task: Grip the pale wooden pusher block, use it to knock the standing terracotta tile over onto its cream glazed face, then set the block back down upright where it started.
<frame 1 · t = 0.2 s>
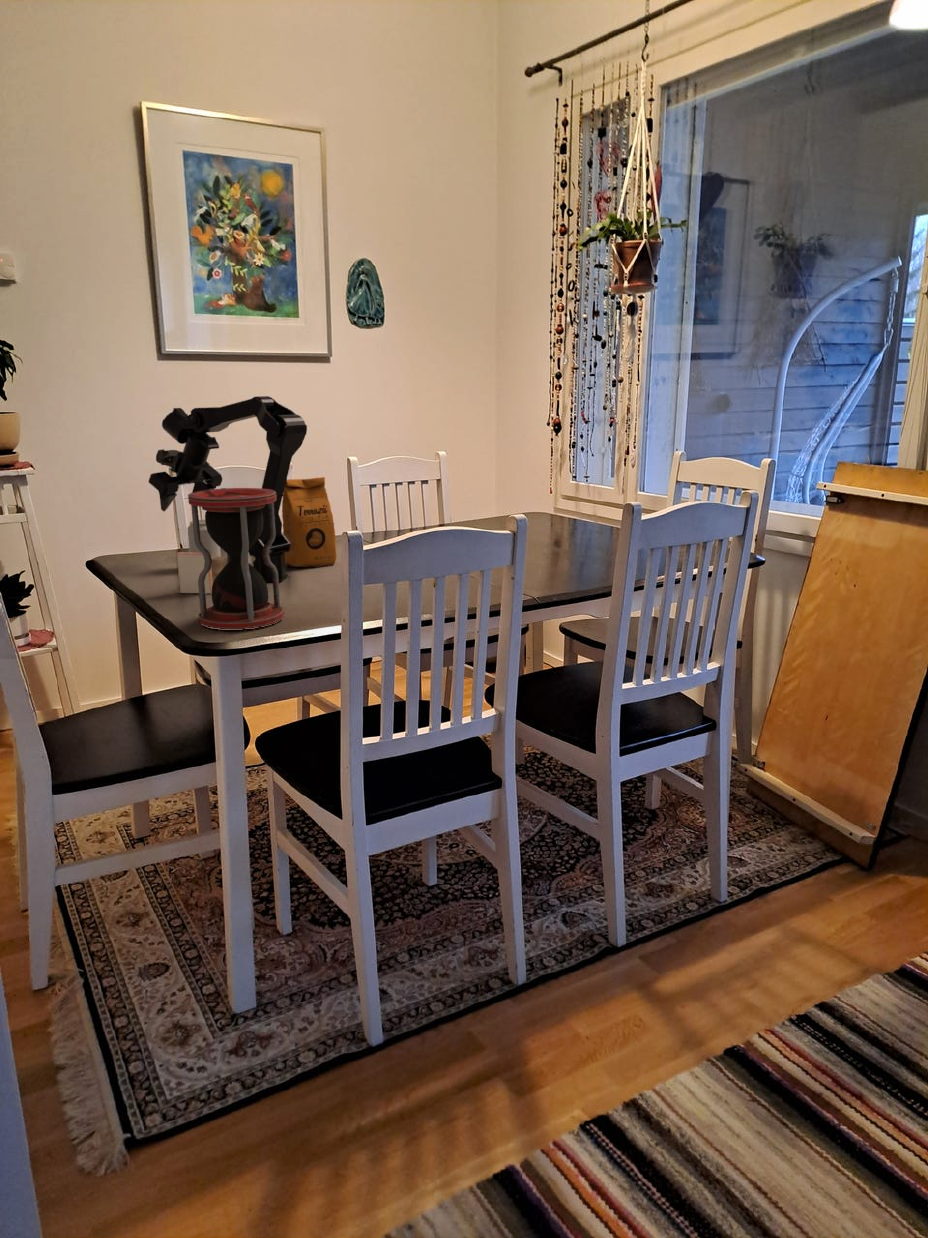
hand: (177, 507, 213), 15 cm above the table, tool tilted 30°, fingers open, 9 cm apart
coffee package: (310, 565, 217), on the table
hourglass: (242, 621, 168), on the table
pusher: (218, 583, 197), on the table
tile: (197, 593, 189), on the table
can: (206, 569, 214), on the table
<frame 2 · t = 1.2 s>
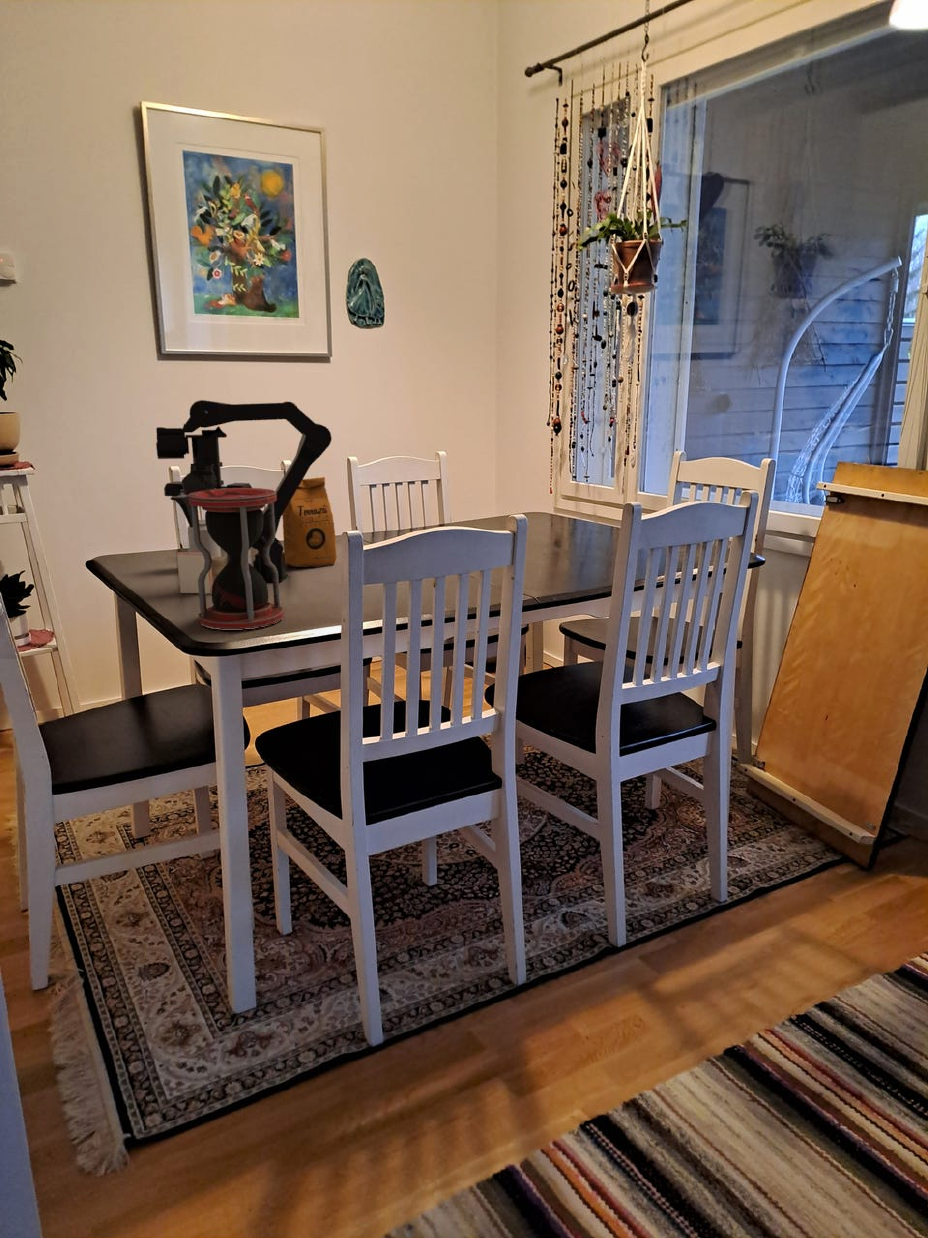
hand: (211, 527, 194), 13 cm above the table, tool pointing down, fingers open, 9 cm apart
nothing on the table moved.
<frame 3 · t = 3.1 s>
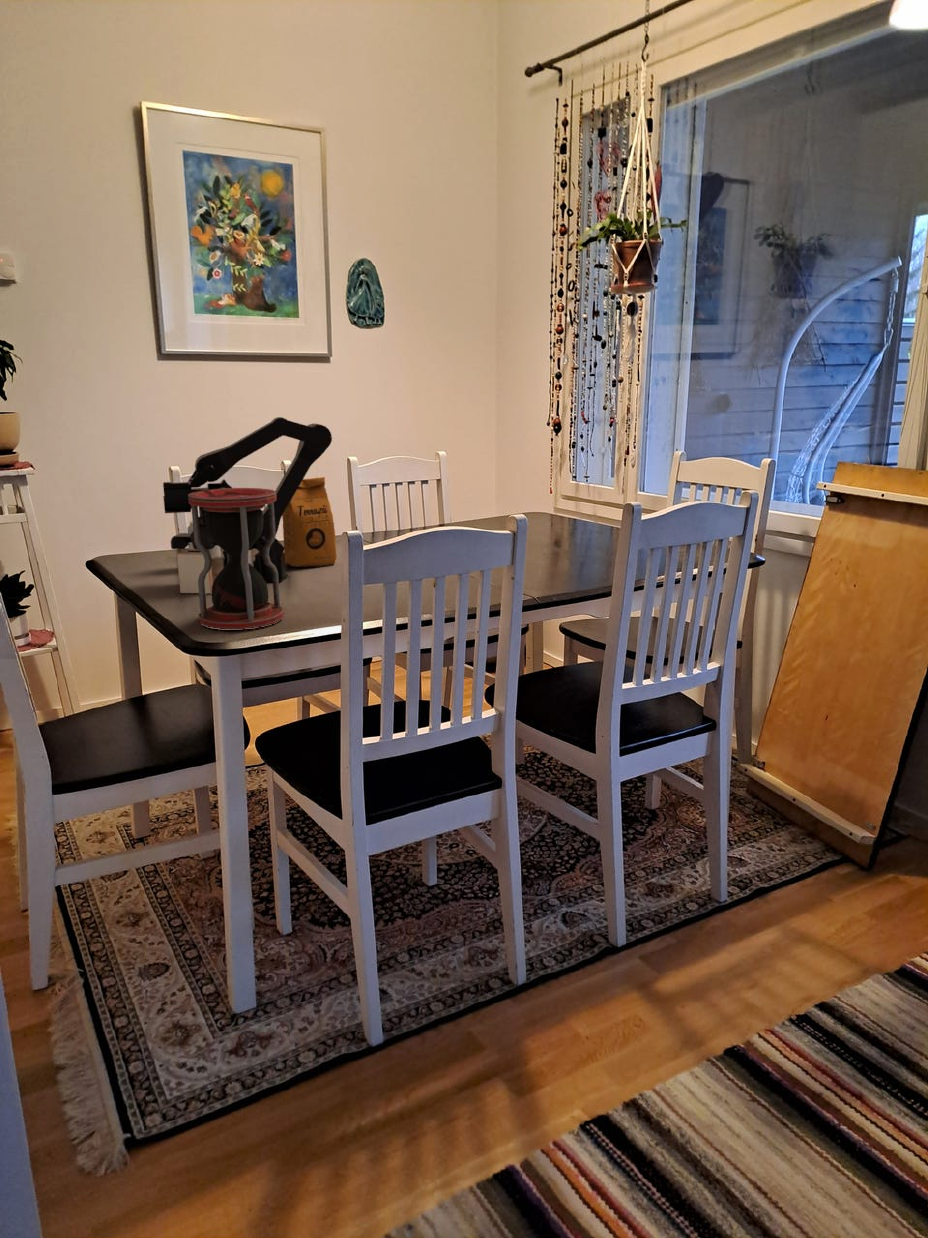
hand: (217, 578, 197), 1 cm above the table, tool pointing down, fingers closed on pusher, 4 cm apart
pusher: (218, 583, 197), on the table, touching gripper
everything else where it was.
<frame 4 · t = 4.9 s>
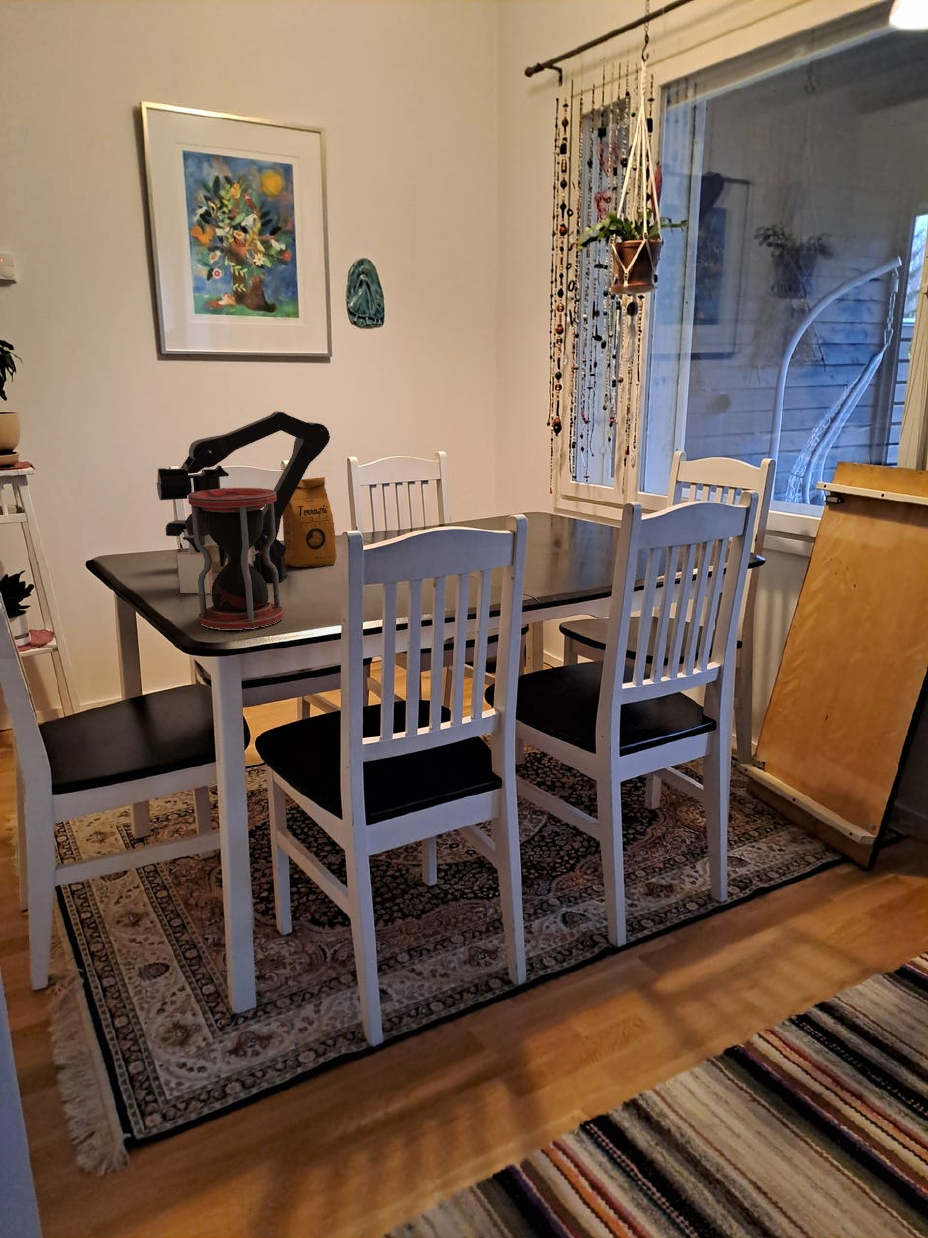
hand: (213, 566, 194), 5 cm above the table, tool pointing down, fingers closed on pusher, 4 cm apart
pusher: (213, 571, 195), point 3 cm above the table, touching gripper
everything else where it was.
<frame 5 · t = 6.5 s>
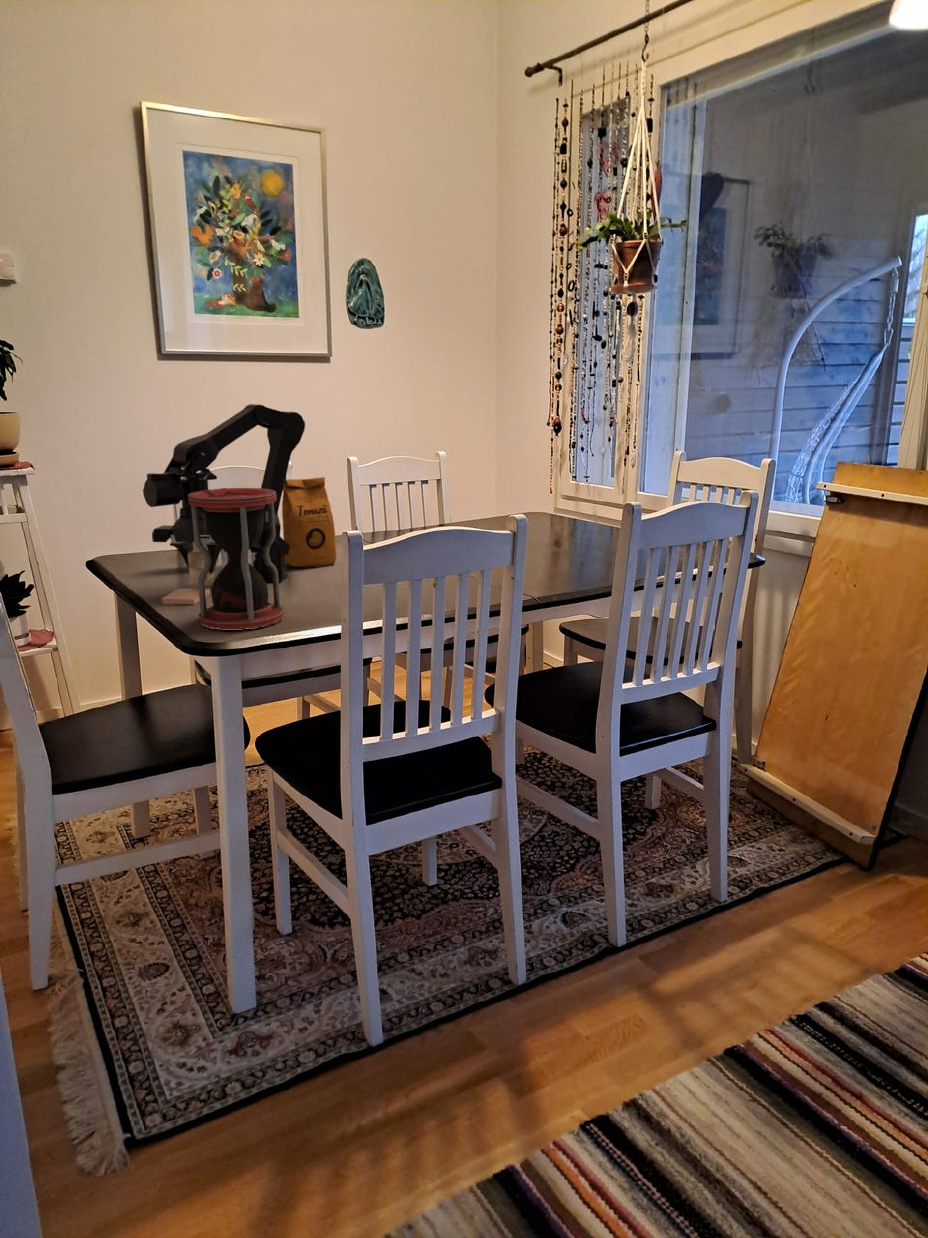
hand: (201, 573, 188), 4 cm above the table, tool pointing down, fingers closed on pusher, 4 cm apart
pusher: (202, 578, 188), point 3 cm above the table, touching gripper
tile: (194, 591, 188), on the table, tilted 90°
everything else where it was.
when the fingers open (2 cm above the table, at t = 8.9 s): pusher drops 1 cm, on the table.
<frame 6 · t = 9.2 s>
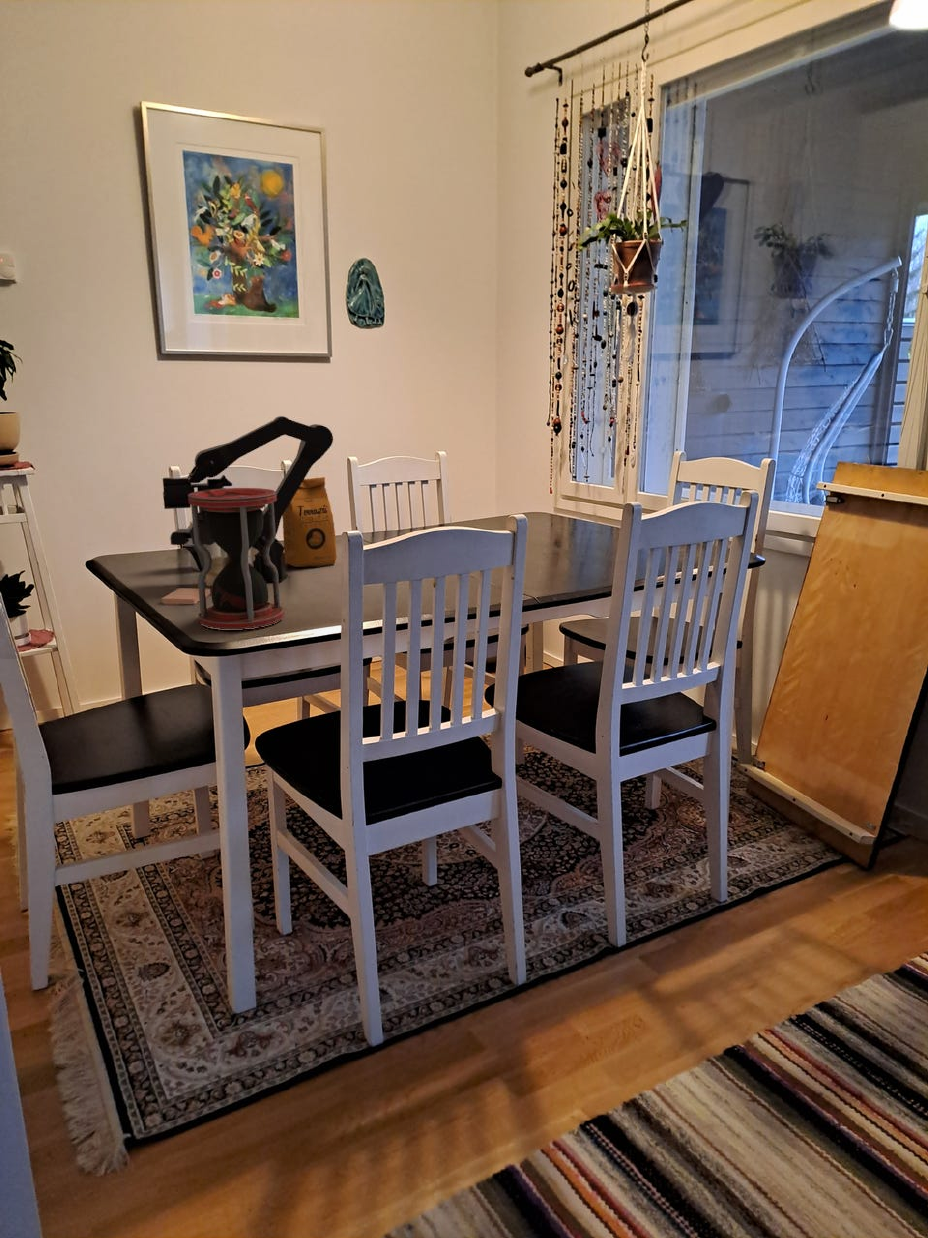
hand: (217, 574, 197), 2 cm above the table, tool pointing down, fingers open, 7 cm apart
pusher: (218, 583, 197), on the table
everything else where it was.
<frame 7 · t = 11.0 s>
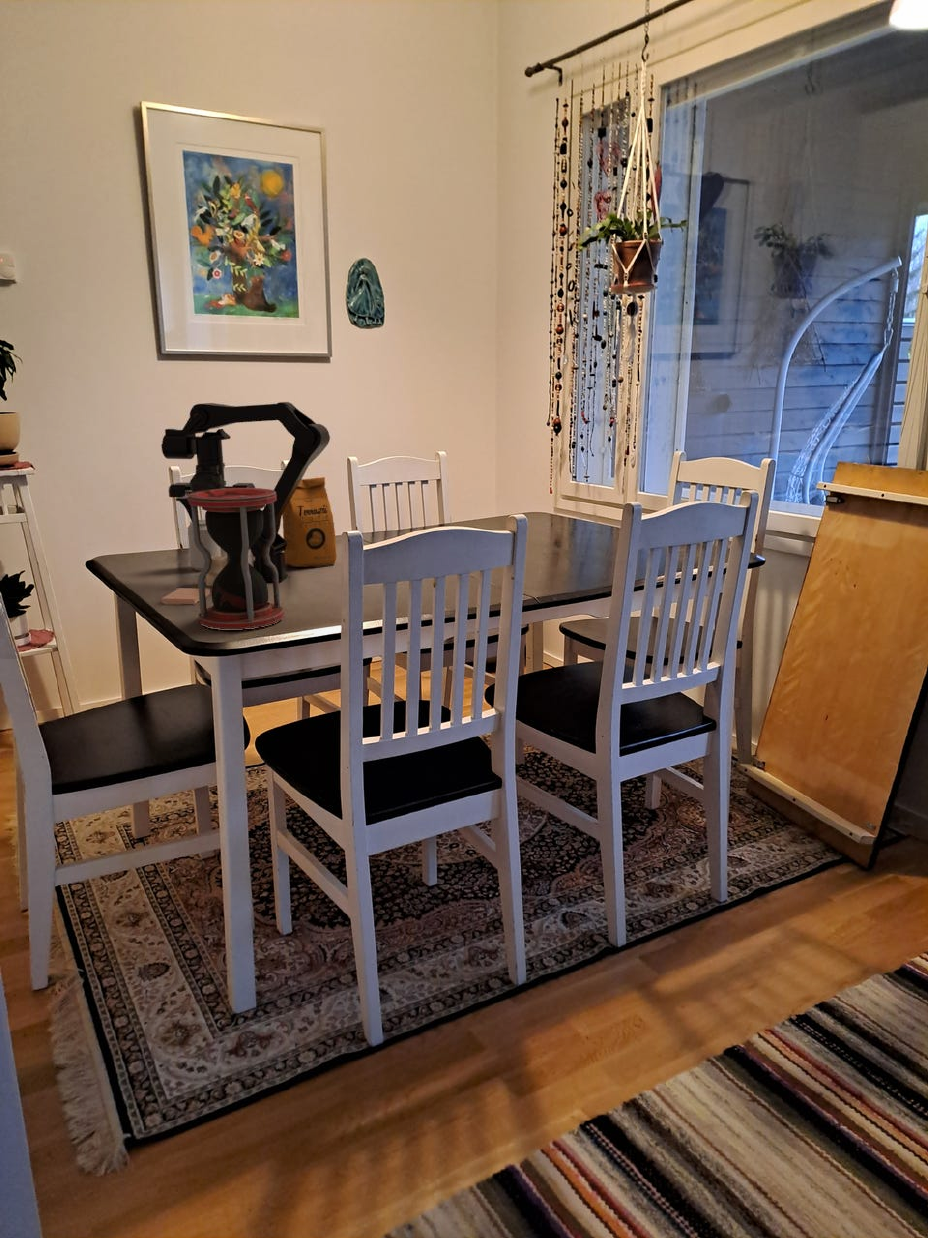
hand: (215, 527, 200), 12 cm above the table, tool pointing down, fingers open, 9 cm apart
nothing on the table moved.
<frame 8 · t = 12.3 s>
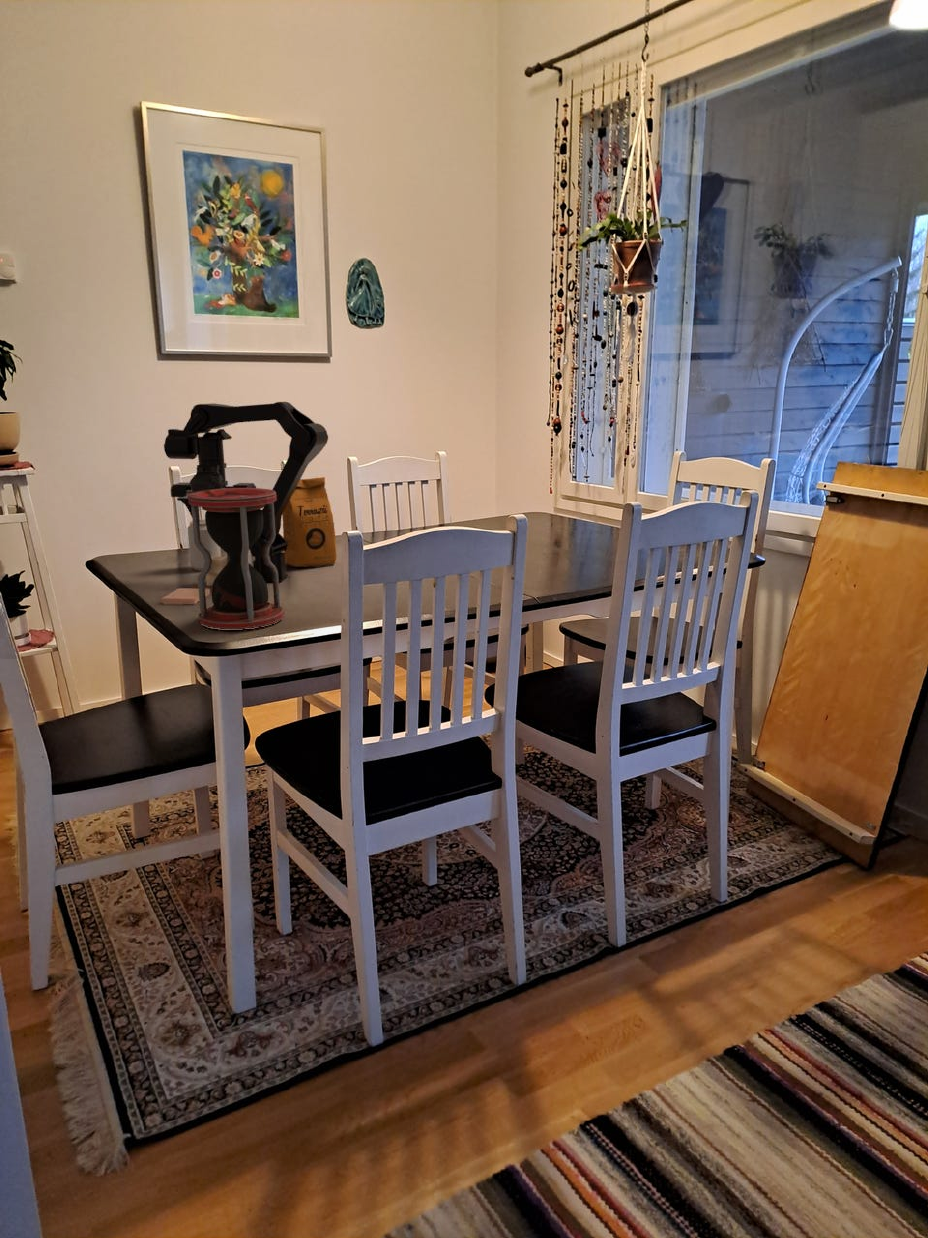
hand: (216, 526, 201), 12 cm above the table, tool pointing down, fingers open, 9 cm apart
nothing on the table moved.
at the end: tile tilted 90°; pusher tilted 0°; the gripper is holding nothing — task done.
